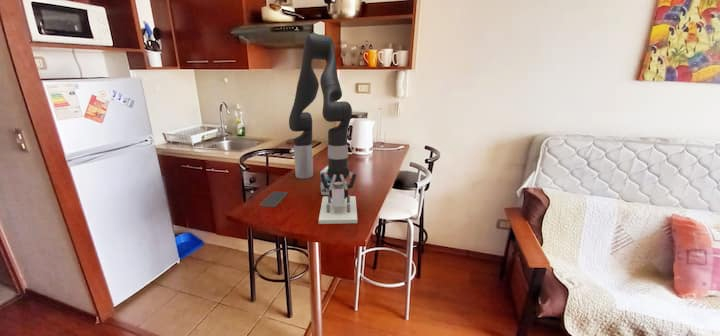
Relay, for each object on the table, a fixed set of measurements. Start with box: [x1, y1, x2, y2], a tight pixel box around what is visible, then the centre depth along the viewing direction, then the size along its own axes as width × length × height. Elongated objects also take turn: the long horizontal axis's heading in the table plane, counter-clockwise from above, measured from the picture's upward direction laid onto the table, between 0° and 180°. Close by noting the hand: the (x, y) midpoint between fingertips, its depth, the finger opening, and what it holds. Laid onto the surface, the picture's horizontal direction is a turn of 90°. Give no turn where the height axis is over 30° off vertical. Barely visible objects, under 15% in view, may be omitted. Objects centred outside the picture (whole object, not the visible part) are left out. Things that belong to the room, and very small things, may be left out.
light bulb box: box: [319, 165, 331, 196], centre depth 139 cm, size 11×7×11 cm, turn 168°
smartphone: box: [258, 191, 288, 208], centre depth 131 cm, size 7×1×15 cm
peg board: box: [318, 194, 358, 225], centre depth 120 cm, size 22×14×4 cm, turn 3°
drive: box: [332, 182, 345, 207], centre depth 118 cm, size 12×5×7 cm, turn 3°
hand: (338, 197), depth 119 cm, fingers closed on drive, 4 cm apart
